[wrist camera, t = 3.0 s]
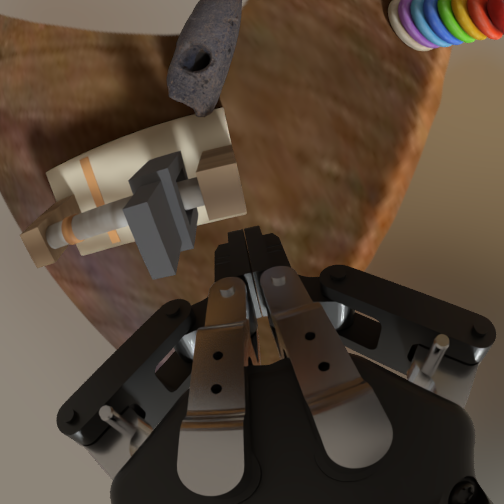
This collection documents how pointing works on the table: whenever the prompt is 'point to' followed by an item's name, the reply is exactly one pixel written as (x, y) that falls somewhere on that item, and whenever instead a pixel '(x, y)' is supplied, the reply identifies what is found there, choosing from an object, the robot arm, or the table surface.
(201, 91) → the perforated stone tool
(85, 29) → the table surface
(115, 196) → the pipe stand
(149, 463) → the robot arm
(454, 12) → the stacking toy
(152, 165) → the collar
